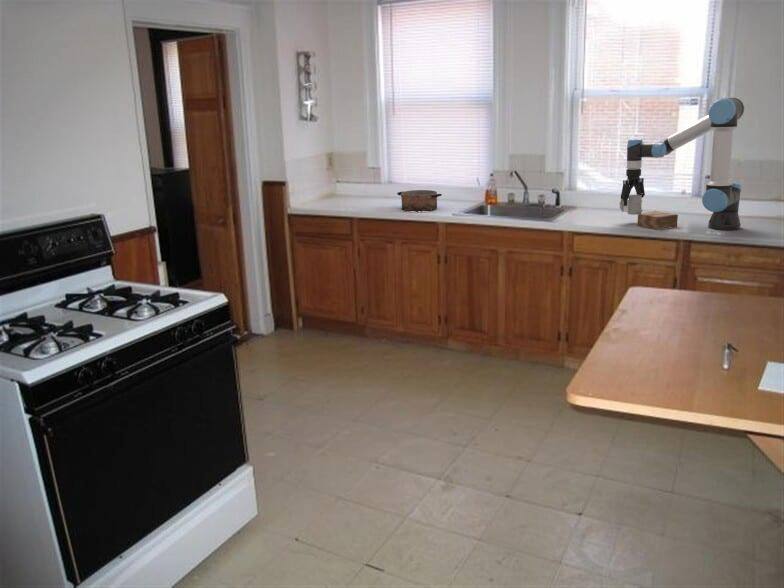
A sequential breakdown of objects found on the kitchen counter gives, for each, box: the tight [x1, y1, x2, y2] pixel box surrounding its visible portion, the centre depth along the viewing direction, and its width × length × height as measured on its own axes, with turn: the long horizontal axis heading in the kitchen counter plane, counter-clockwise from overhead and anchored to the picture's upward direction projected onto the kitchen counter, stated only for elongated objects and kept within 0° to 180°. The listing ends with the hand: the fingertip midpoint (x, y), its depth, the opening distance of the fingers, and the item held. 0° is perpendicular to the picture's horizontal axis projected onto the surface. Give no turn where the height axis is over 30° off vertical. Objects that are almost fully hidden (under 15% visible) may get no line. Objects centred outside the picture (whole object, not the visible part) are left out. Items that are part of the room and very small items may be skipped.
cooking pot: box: [396, 189, 443, 212], centre depth 446 cm, size 30×22×11 cm
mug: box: [619, 194, 643, 216], centre depth 381 cm, size 8×12×12 cm, turn 82°
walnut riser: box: [637, 210, 679, 230], centre depth 373 cm, size 14×14×6 cm
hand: (632, 210), depth 382 cm, fingers closed on mug, 9 cm apart
